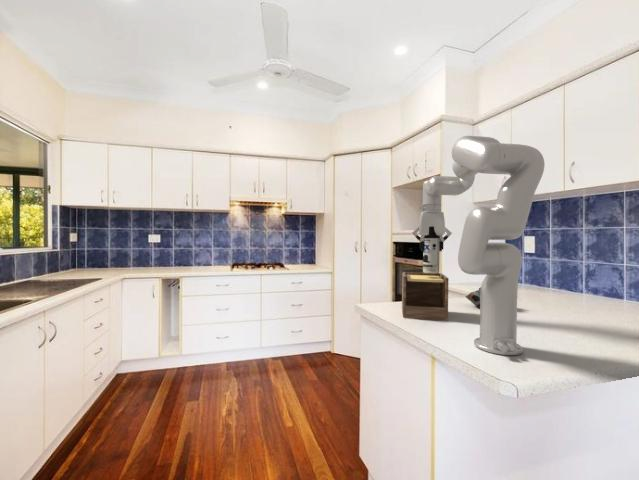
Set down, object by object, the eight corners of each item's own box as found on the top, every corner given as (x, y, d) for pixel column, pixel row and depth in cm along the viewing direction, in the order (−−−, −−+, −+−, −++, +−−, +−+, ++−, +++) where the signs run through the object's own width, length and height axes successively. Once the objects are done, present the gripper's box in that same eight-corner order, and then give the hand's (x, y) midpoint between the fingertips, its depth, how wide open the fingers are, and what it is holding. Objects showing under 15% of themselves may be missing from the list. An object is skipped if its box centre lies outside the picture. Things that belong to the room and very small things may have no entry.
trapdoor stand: (447, 321, 119) (448, 278, 119) (402, 317, 123) (403, 276, 123) (441, 311, 136) (441, 273, 135) (401, 308, 140) (402, 272, 140)
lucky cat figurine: (481, 302, 154) (497, 280, 149) (498, 317, 143) (516, 294, 139) (460, 296, 148) (475, 272, 144) (476, 311, 138) (493, 286, 134)
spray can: (419, 272, 130) (420, 226, 130) (432, 272, 133) (432, 227, 133) (430, 274, 124) (430, 226, 124) (443, 273, 126) (443, 226, 126)
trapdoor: (443, 282, 121) (443, 279, 121) (407, 281, 124) (407, 277, 124) (438, 278, 134) (438, 275, 134) (406, 276, 138) (406, 274, 138)
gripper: (411, 208, 127) (410, 251, 127) (455, 208, 123) (455, 251, 123) (410, 210, 134) (409, 250, 134) (452, 209, 130) (451, 251, 130)
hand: (431, 250), depth 128 cm, fingers closed on spray can, 6 cm apart
